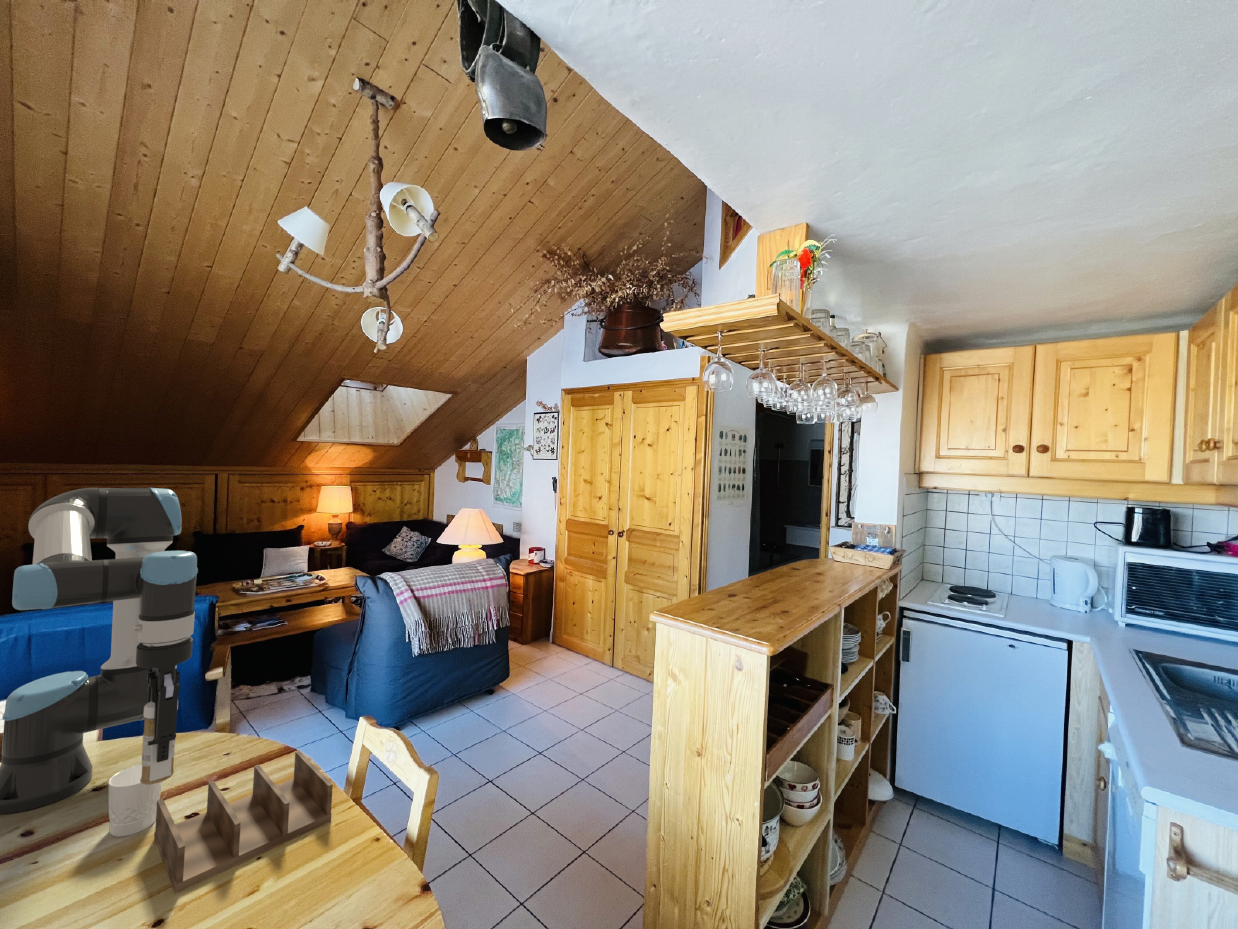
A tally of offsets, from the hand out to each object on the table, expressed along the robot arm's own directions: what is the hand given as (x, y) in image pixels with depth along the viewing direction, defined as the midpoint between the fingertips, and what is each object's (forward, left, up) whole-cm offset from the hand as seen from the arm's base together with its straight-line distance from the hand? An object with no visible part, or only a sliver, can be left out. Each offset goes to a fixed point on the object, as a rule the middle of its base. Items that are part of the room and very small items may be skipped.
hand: (157, 771), depth 91 cm
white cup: (-16, 0, -17) cm, 23 cm away
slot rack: (+1, +14, -17) cm, 22 cm away
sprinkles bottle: (0, 0, -1) cm, 1 cm away
